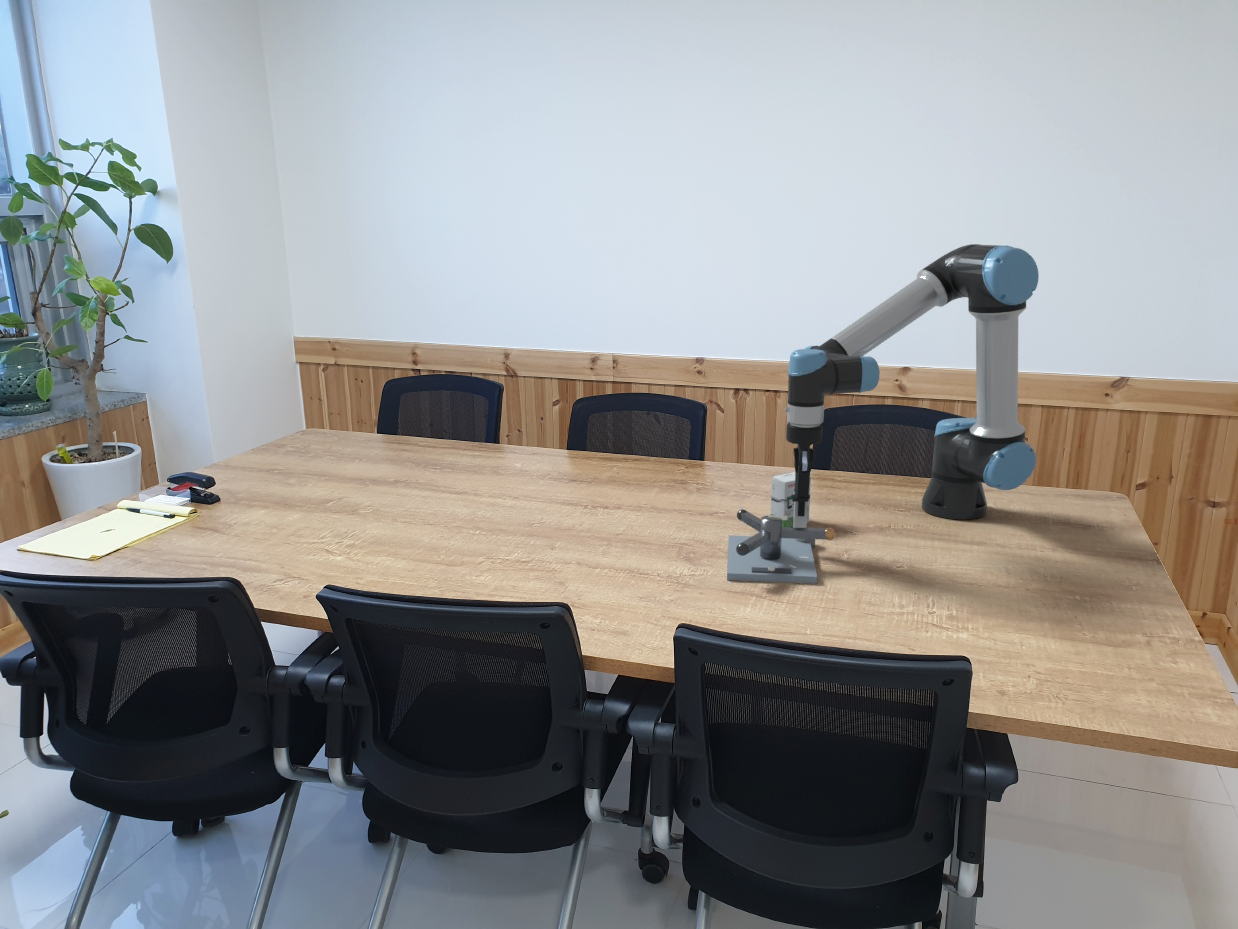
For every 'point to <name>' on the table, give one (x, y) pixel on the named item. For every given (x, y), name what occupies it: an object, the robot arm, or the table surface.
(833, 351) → the robot arm
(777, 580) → the stand
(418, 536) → the table surface
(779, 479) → the ink box
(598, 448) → the table surface
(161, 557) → the table surface
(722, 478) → the table surface
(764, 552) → the capstan
